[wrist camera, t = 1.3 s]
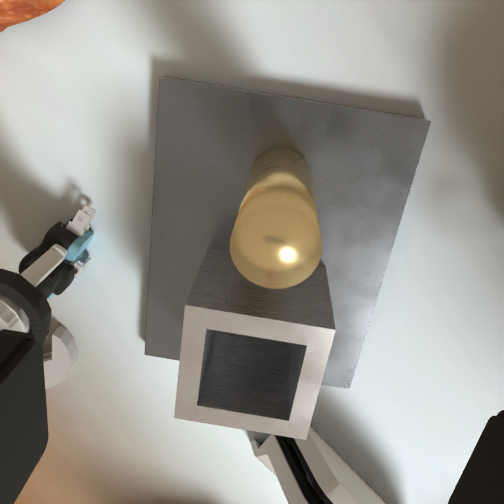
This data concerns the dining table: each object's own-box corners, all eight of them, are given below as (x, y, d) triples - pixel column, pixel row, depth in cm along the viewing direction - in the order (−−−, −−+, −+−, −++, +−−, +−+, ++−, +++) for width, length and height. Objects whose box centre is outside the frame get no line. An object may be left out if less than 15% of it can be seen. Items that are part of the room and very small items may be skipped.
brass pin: (317, 153, 26) (331, 212, 17) (305, 212, 28) (311, 295, 19) (255, 143, 26) (235, 197, 17) (246, 202, 28) (224, 280, 19)
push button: (58, 182, 29) (-47, 245, 20) (131, 228, 30) (62, 308, 21) (19, 257, 32) (-90, 343, 23) (87, 297, 33) (9, 396, 24)
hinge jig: (425, 118, 26) (478, 148, 19) (347, 379, 34) (363, 471, 27) (164, 76, 26) (115, 89, 19) (148, 346, 34) (109, 428, 27)
